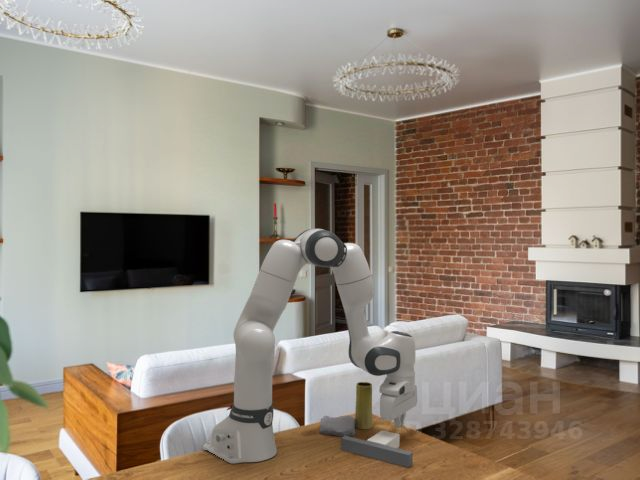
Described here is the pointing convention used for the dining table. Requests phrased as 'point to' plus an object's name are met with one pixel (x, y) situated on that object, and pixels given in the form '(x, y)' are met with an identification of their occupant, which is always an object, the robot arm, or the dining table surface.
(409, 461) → the charcoal board
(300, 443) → the dining table surface
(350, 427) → the stone block
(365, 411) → the vase
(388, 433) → the offwhite block
